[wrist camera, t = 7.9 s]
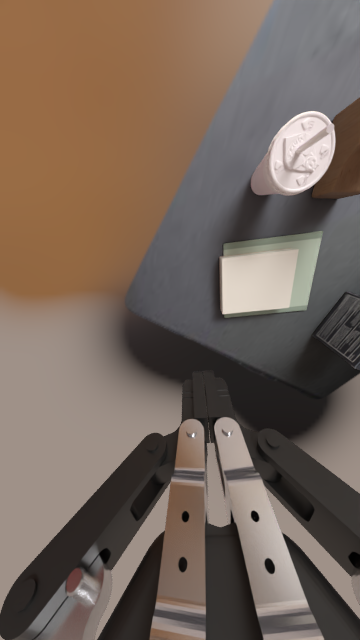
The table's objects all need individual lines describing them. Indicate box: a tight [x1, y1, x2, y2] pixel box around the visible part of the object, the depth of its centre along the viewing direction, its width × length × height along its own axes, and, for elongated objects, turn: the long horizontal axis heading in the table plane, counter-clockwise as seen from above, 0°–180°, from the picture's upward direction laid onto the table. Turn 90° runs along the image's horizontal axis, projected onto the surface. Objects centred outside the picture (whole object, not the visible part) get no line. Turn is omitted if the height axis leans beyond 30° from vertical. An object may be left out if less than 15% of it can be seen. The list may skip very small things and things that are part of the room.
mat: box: [223, 231, 323, 318], centre depth 33 cm, size 16×14×1 cm
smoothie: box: [251, 111, 335, 196], centre depth 20 cm, size 6×6×14 cm
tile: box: [219, 248, 299, 314], centre depth 32 cm, size 2×10×12 cm
